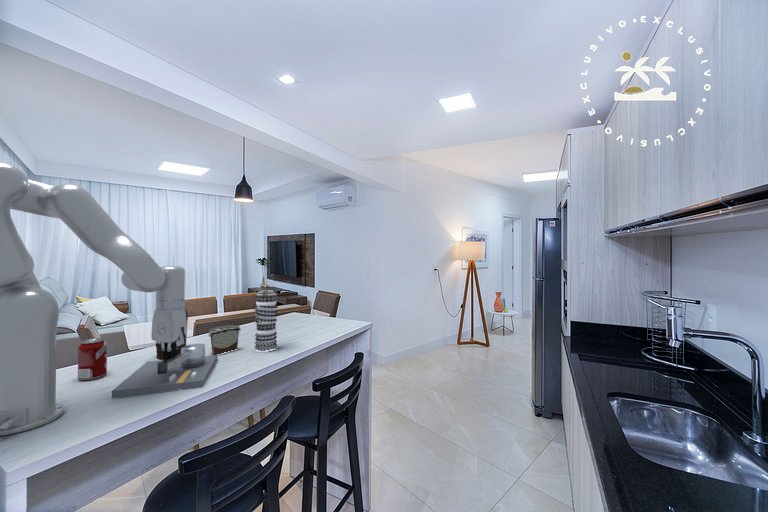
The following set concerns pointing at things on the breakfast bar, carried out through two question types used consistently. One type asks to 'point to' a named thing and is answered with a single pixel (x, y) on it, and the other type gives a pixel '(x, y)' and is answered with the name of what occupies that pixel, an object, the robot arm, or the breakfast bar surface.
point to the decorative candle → (266, 320)
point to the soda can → (92, 359)
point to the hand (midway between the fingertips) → (169, 362)
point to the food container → (224, 339)
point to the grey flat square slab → (164, 378)
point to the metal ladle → (184, 358)
